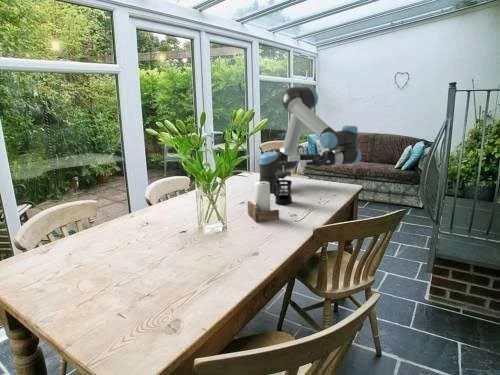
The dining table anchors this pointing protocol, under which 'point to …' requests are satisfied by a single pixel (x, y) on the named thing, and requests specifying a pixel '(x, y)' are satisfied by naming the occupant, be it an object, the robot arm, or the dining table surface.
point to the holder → (261, 214)
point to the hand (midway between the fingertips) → (293, 161)
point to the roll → (262, 196)
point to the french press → (283, 195)
